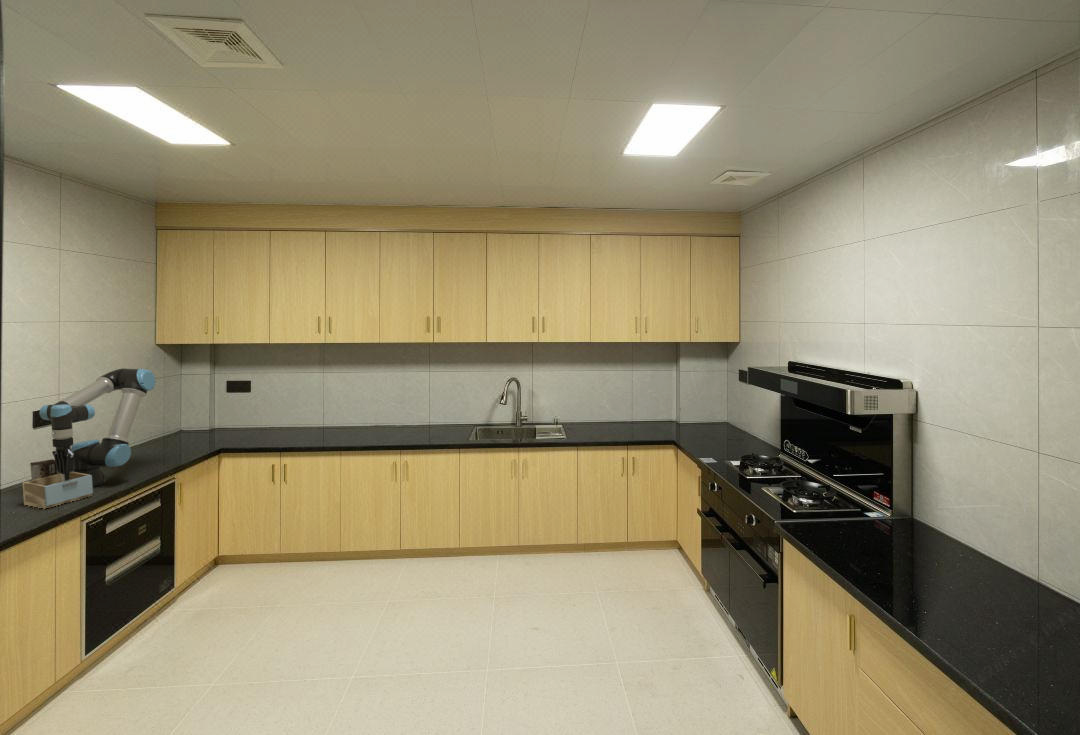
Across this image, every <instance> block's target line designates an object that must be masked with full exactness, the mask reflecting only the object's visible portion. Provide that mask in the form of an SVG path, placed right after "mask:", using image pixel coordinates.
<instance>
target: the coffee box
mask: <svg viewBox="0 0 1080 735" xmlns="http://www.w3.org/2000/svg"><path fill="white" fill-rule="evenodd" d="M29 466H30V475H31V480H35V479H39V478H44V477H48V476H52V475H56V474H58V471H57V468H56V464H55V459H47V460H46V459H45V460H40V461H39V460H38V461H33V462H30V465H29Z"/></svg>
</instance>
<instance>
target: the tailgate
mask: <svg viewBox="0 0 1080 735" xmlns="http://www.w3.org/2000/svg"><path fill="white" fill-rule="evenodd" d="M93 488H94V487H92V475H88V476H84V477H80V478H76V479H72V480H68V481H64V482H60V483H56V484H52V485H48V486H44V492H45V505H46V506H48V505H52V504H56V503H59V502H63V501H66V500H70V499H74V498H77V497H81V496H84V495H88V494H91V495H92V494H93V493H94V491H93Z"/></svg>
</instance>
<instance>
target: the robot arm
mask: <svg viewBox="0 0 1080 735" xmlns="http://www.w3.org/2000/svg"><path fill="white" fill-rule="evenodd" d="M155 386H156V377H155V375H154V373H153V371H151V370H149V369H144V368H118V369H115V370H112V371H109V372H107V373H104V374H102V375H101V376H99V377H97V378H96V380H95V381H94V382H92V383H91V384H88V385H86V387H83V388H81V389H79V390H78V391H76V392H73V394H72V393H71V395H69V396H67V397H65V398H63V399H61V400H60V401H58V402H55V403H54V404H44V405H43V406H41V408H40V409H39V416H40V418H41V419H42V420H44V421H50V422H51V435H52V436H51V437H52V447H54V448H55V450H54V451H52V456H53V458H54V459H53V460H55V464H56V468H57V472H59V474H60V473H61V482H64V481H68V480H70V477H69V473H70V472H77V473H83V474H88V475H92V487H93V486H96V487H98V486H97V485H100V486H102V485H104V484H106V483H105V482H107V478H106V476H105V473H104V471H103V470H102V467H110V468H113V467H120V466H123V465H125V464H126V463H127V462H128V461H129V459H130V458H131V455H132V449H131V446H130V445H129V444H130V442H129V441H128V437H129V434H130V431H131V428H132V426H133V424H134V421H135V418H136V415H137V413H138V410H139V407H140V404H141V400H142V398H144V397H145V396H147V394H148V392H150V391H152V390H153V389H155ZM119 390H120V391H121V393H122V396H121V398H120V401H119V404H118V406H117V410H116V412H115V415H114V418H113V420H112V423H111V425H110V428H109V430H108V433H107V436H105V437H103V438H102V439H101V441H100V440H99V439H88V440H83V441H79V442H75V443H74V437H73V436H74V430H73V424H74V423H79V422H84V421H88V420H91V419H93V418H94V417H95V415H96V412H95V410H96V409H95V408H94V406H93V405H90V404H89V403H91V402H93V401H94V400H96V399H98V398H100V397H101V396H103V395H105V394H110V393H113V391H119ZM103 483H104V484H103ZM101 484H102V485H101ZM93 488H94V487H93Z"/></svg>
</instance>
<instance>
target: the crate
mask: <svg viewBox="0 0 1080 735" xmlns="http://www.w3.org/2000/svg"><path fill="white" fill-rule="evenodd" d="M84 476H88V474H83V473H77V472H73V471H72V472H70V473H69V477H70V480H72V479H76V478H80V477H84ZM60 482H61V473H60V472H59V473H57V474H56V475H52V476H48V477H44V478H39V479H35V480H32V479H31V480H27V481H24V482H22V496H23V506H25V505H28V506H27V507H30V506H33V507H32V508H34V507H38V508H37V509H39V508H43V509H42V510H44V509H46V508H49V509H51V508H50V507H53V508H55V507H54V506H56V507H58V506H57V505H60V506H62V505H61V504H63V505H65V504H64V503H67V504H69V503H68V502H70V503H73V502H72V501H74V502H77V501H76V500H78V501H80V499H81V500H84V499H83V498H85V499H87V498H86V497H88V498H90V497H89V496H92V493H91V494H88V495H84V496H81V497H77V498H74V499H70V500H66V501H63V502H59V503H56V504H52V505H48V506H46V505H45V492H44V486H48V485H52V484H56V483H60ZM46 510H47V509H46Z"/></svg>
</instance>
